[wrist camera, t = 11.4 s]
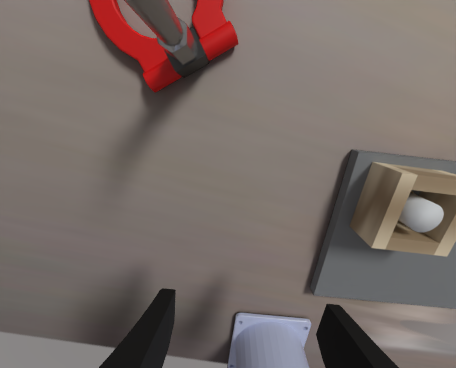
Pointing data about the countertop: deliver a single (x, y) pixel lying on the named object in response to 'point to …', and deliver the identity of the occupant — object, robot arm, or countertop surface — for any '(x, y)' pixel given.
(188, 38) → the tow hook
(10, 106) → the countertop surface
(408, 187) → the collar
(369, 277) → the post mat
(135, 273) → the countertop surface
